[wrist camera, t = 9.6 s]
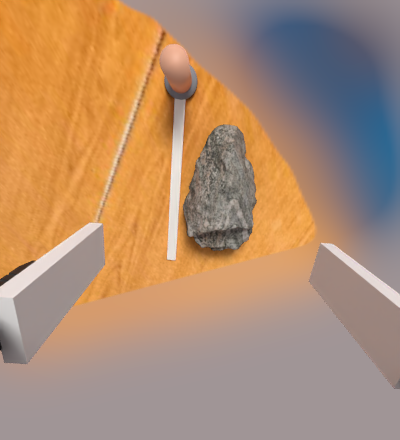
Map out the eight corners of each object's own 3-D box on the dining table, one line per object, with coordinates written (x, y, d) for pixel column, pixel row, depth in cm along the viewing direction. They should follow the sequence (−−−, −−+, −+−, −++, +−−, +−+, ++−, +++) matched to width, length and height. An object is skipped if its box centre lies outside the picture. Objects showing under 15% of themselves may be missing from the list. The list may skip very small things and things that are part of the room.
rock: (270, 239, 35) (237, 272, 29) (222, 233, 42) (186, 259, 35) (256, 117, 30) (210, 123, 23) (202, 132, 36) (155, 140, 29)
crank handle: (159, 257, 39) (148, 285, 32) (165, 61, 30) (153, 33, 22) (183, 260, 39) (179, 287, 32) (198, 65, 30) (197, 37, 22)
